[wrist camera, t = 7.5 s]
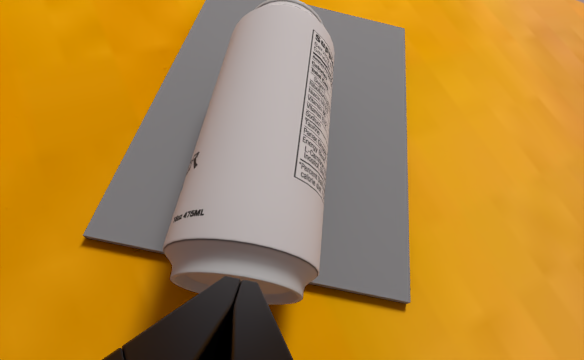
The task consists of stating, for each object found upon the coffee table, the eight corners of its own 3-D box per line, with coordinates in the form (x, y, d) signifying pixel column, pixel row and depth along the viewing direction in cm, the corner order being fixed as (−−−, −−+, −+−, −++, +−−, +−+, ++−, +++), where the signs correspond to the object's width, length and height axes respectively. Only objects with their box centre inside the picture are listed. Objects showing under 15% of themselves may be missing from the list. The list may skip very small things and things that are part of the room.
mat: (406, 303, 16) (410, 302, 16) (86, 237, 15) (83, 235, 15) (402, 32, 27) (404, 28, 27) (215, -13, 27) (215, -18, 26)
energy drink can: (194, 299, 15) (250, 77, 23) (322, 312, 14) (337, 73, 22) (117, 261, 10) (222, -10, 18) (308, 276, 9) (334, -20, 16)
